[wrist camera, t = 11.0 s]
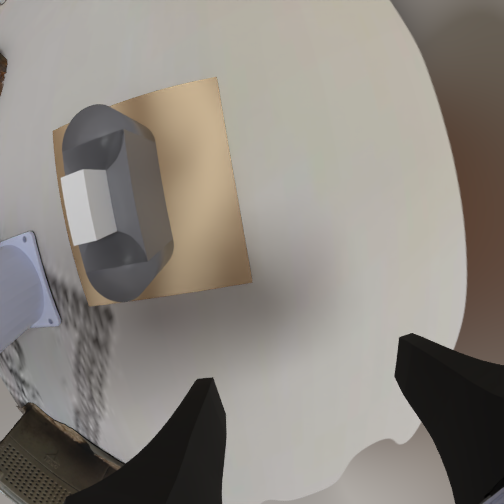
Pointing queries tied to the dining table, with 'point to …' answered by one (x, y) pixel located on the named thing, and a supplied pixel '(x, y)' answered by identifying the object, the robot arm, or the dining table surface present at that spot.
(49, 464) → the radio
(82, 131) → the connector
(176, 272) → the oak board
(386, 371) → the dining table surface
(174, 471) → the robot arm
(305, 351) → the dining table surface
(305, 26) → the dining table surface
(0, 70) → the burger
